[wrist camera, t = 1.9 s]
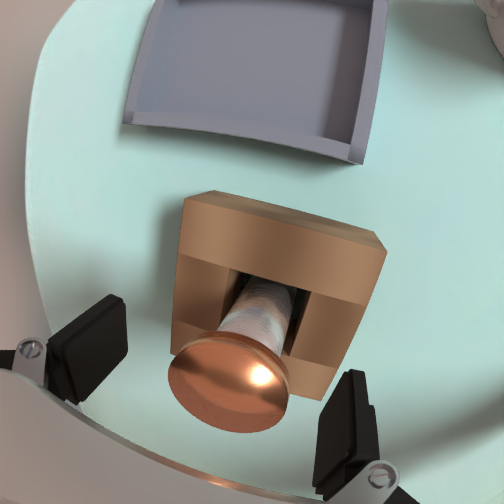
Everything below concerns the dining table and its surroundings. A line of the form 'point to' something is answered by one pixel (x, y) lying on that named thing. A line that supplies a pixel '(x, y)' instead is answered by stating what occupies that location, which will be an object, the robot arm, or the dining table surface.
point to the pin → (239, 363)
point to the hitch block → (276, 277)
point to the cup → (494, 20)
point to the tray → (263, 71)
